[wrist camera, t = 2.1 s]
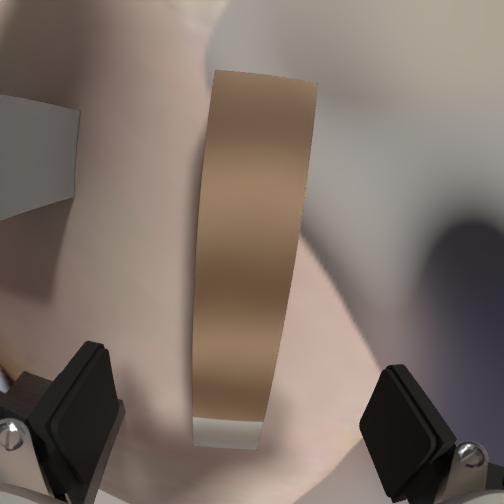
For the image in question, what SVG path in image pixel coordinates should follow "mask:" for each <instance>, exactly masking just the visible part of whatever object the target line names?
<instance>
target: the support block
mask: <svg viewBox="0 0 504 504" xmlns="http://www.w3.org/2000/svg"><path fill="white" fill-rule="evenodd" d="M79 118H80V111H79V110H75V109H70V108H66V107H62V106H58V105H53V104H49V103H44V102H40V101H35V100H30V99H25V98H20V97H14V96H9V95H3V94H0V221H1V220H4V219H7V218H10V217H12V216H15V215H18V214H21V213H24V212H27V211H30V210H33V209H36V208H39V207H42V206H46V205H49V204H52V203H55V202H59V201H62V200H66V199H69V198H73V197H74V182H75V161H76V147H77V136H78V127H79Z"/></svg>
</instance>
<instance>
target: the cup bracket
mask: <svg viewBox="0 0 504 504" xmlns="http://www.w3.org/2000/svg"><path fill="white" fill-rule="evenodd" d="M52 383H53V381H50V380H47V379H44V378H41V377H38V376H35V375H33V374H30V373H27V372H25V371H24V372H23V373H22V374H21V375H20V376H19V378H18V379H17V380H16V381H15V383H14V384H13V385H12V386H11V388H10V389H9V390H8V392H7V393H6V394H5V393H3V392H1V391H0V420H2V419H6V418H13V419H17V420H19V421H21V422H23V423H24V422H25V420H26V419H27V417H28V416H29V415H30V413H31V412H32V410H33V409H34V407H35V406H36V405H37V403H38V402H39V400H40V399H41V398H42V396H43V395H44V394H45V392H46V391H47V389H48V388H49V387H50V385H51V384H52ZM118 404H119V412H118V415H117V418H116V420H115V422H114V425H113V427H112V429H111V432H110V434H109V437H108V439H107V441H106V444H105V446H104V449H103V451H102V454H101V456H100V459H99V461H98V464H97V466H96V469H95V471H94V474H93V476H92V479H91V481H90V483H89V485H84V487H83V490H82V491H80V490H77V489H74V488H72V487H70V489H69V491H68V493H67V495H68V497H69V499H70V502H71V504H94V501H95V497H96V494H97V491H98V488H99V485H100V482H101V479H102V476H103V473H104V470H105V467H106V464H107V461H108V458H109V456H110V453H111V450H112V447H113V444H114V441H115V439H116V436H117V433H118V431H119V428H120V425H121V422H122V420H123V417H124V414H125V410H124V406H123V401H122V400H118Z"/></svg>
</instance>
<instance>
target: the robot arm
mask: <svg viewBox="0 0 504 504" xmlns="http://www.w3.org/2000/svg"><path fill="white" fill-rule="evenodd" d="M118 412H119V404H118V399H117V395H116V390H115V385H114V380H113V374H112V368H111V363H110V356H109V351H108V350H107V349H105V348H104V345H103V344H100V343H96V342H91V341H86V342H85V343H84V344H83V345H82V347H81V348H80V349H79V350H78V352H77V353H76V354H75V356H74V357H73V358H72V359H71V361H70V362H69V363H68V365H67V366H66V367H65V369H64V370H63V371H62V372H61V373H60V374H59V375H58V376H57V377H56V379H55V380H54V381H53V383H52V384H51V385H50V387H49V388H48V389H47V391H46V392H45V394H44V395H43V396H42V398H41V399H40V400H39V402H38V403H37V405H36V406H35V407H34V409H33V410H32V412H31V413H30V415H29V416H28V417H27V419H26V420H25V422H24V423H23V422H21V421H19V420H17V419H13V418H6V419H2V420H0V504H71V502H70V499H69V497H68V495H67V493H68V491H69V489H70V487H72V488H74V489H77V490H80V491H82V490H83V487H84V485H89V483H90V481H91V479H92V476H93V474H94V471H95V469H96V466H97V464H98V461H99V459H100V456H101V454H102V451H103V449H104V446H105V444H106V441H107V439H108V437H109V434H110V432H111V429H112V427H113V425H114V422H115V420H116V418H117V415H118ZM359 427H360V431H361V433H362V436H363V438H364V440H365V443H366V446H367V448H368V451H369V453H370V455H371V458H372V460H373V463H374V465H375V468H376V470H377V473H378V475H379V478H380V480H381V483H382V485H383V488H384V491H385V493H386V495H387V496H388V497H391V499H392V502H393V503H396V502H399V501H403V500H406V499H408V502H409V504H504V467H502V466H499V465H495V464H492V463H489V462H488V454H487V452H486V450H485V449H484V448H483V447H482V446H481V445H479V444H478V443H476V442H472V441H464V442H461V443H460V444H458V445H457V446H456V445H455V444H454V443H455V441H456V440H457V438H456V437H455V435H454V434H453V432H452V431H451V429H450V428H449V426H448V425H447V423H446V422H445V421H444V419H443V418H442V416H441V415H440V414H439V412H438V411H437V409H436V408H435V406H434V405H433V404H432V402H431V401H430V399H429V398H428V397H427V395H426V394H425V392H424V391H423V390H422V388H421V387H420V386H419V384H418V383H417V381H416V380H415V379H414V377H413V376H412V375H411V373H410V372H409V371H408V369H407V368H406V367H405V366H404V365H403V364H399V365H389V366H387V367H386V369H384V370H383V371H382V373H381V375H380V377H379V380H378V382H377V384H376V387H375V389H374V392H373V394H372V396H371V398H370V401H369V403H368V405H367V407H366V409H365V411H364V414H363V416H362V418H361V420H360V423H359Z"/></svg>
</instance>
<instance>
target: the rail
mask: <svg viewBox="0 0 504 504" xmlns="http://www.w3.org/2000/svg"><path fill="white" fill-rule="evenodd" d="M317 87H318V83H313V82H308V81H302V80H297V79H291V78H285V77H278V76H271V75H263V74H255V73H245V72H234V71H222V70H215V73H214V80H213V87H212V94H211V101H210V109H209V117H208V125H207V133H206V142H205V151H204V161H203V171H202V181H201V192H200V204H199V217H198V231H197V246H196V263H195V283H194V308H193V349H192V407H193V445H195V446H204V447H215V448H228V449H248V450H257V448H258V443H259V439H260V435H261V431H262V426H263V422H264V418H265V413H266V409H267V404H268V400H269V395H270V390H271V386H272V381H273V376H274V371H275V367H276V362H277V357H278V352H279V347H280V341H281V336H282V331H283V326H284V320H285V315H286V309H287V304H288V298H289V293H290V287H291V281H292V275H293V269H294V263H295V257H296V251H297V245H298V238H299V232H300V225H301V218H302V212H303V204H304V198H305V190H306V183H307V175H308V167H309V160H310V151H311V143H312V135H313V126H314V117H315V107H316V98H317V97H316V96H317Z"/></svg>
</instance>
